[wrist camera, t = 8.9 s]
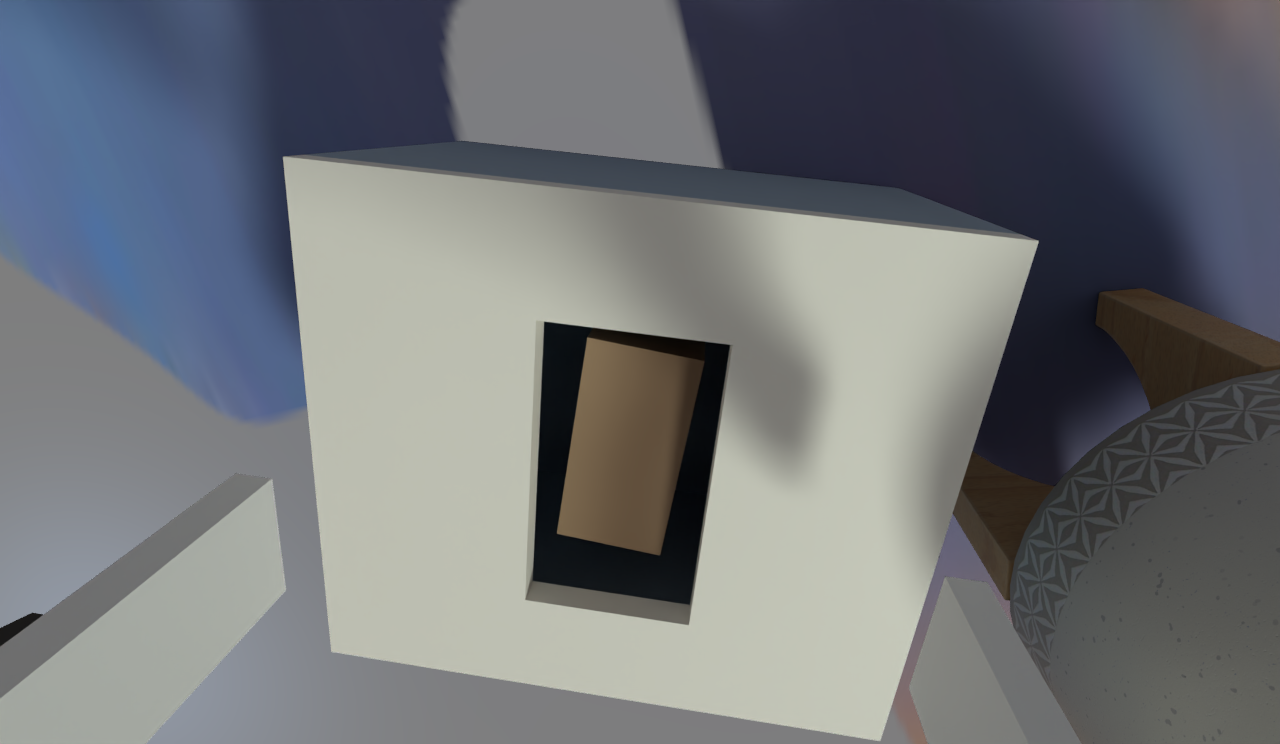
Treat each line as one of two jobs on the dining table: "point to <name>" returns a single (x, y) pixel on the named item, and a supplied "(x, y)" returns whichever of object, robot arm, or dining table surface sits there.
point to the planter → (1154, 542)
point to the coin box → (717, 438)
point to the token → (629, 437)
